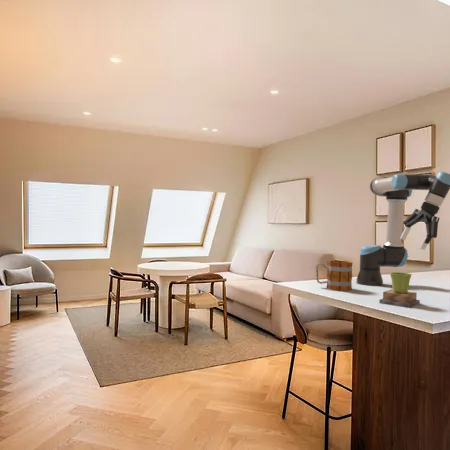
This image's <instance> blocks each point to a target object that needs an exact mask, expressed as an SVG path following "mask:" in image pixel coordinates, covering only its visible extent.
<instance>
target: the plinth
mask: <svg viewBox="0 0 450 450" xmlns="http://www.w3.org/2000/svg"><path fill="white" fill-rule="evenodd" d="M417 297H418V296H417V291H416V292H414V291H408V293H399V292H393V288H391V289H388V290H385V291H383V292H382V298H381V299H379V302H378V303H379V304H382V305H383V304H385V305H391V306H397V307H398V306H399V307H402V308H403V307H404V308H411V307H414V306H417V305H419V304H420V303H421V301H420V299H417Z"/></svg>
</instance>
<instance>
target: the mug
mask: <svg viewBox="0 0 450 450" xmlns="http://www.w3.org/2000/svg"><path fill="white" fill-rule="evenodd" d="M326 262H327V263H326V264H327V265H325V264H324V263H322V262H318V263H317V264H316V266H315V277H316V281H317V283H318V284H320V285H322V284H326V289H329V291H330V290H331V291H339V292H343V291H344V292H349V291H351V290H352V289H353V287H352V286H353V285H352V281H353V268H352V267H353V262H352V261H348V260H327V261H326ZM320 265H321V266H322V267H323V268H325V269H327V270H326V280H323V281H320V279H319V266H320Z"/></svg>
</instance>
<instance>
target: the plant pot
mask: <svg viewBox="0 0 450 450" xmlns="http://www.w3.org/2000/svg"><path fill="white" fill-rule="evenodd" d="M389 274H390V278H391V286H392V289H393V292H399V293H408V292H409V287H410V286H409V285H410V281H411V277H412V275H413V274H412V273H408V272H397V271H396V272H395V271H394V272H392V271H391V272H389Z"/></svg>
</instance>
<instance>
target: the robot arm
mask: <svg viewBox="0 0 450 450" xmlns="http://www.w3.org/2000/svg"><path fill="white" fill-rule="evenodd" d="M369 189H370V191H371V193H372V194H374V195H376V196H378V197H385V198H386V199H385V200H386V201H387V202H388V206H387V207H388V209H387V223H386V241H385V242H384V243H383V245H382V246H381V244H369V245H363V246H361V248H360V249H359V251H360V252H359V271H358V274H357V277H356V281H355V282H356V284H360V285H363V286H364V285H365V286H383V285H384V281H383V276H382V273H381V267H382V268H383V267H386V268H387V267H388V268H391V267H392V268H393V267H394V268H400V267H403V266H405V265H406V263H407V261H408V258H409V257H408V256H409V255H408V250H407V248H405V245H404V243H402V240H403V241H406V239H407V237H408V235H409V233H410V231H411V228H412V227H413V226H414V225H416V224H418V223H419V222H422V223H424V224H425V229H426V235H424V238H423V240H422V241H421V243H420V246H419V248H418V249H420V250H423V251H425V250H426V248H427V246H428V245H429V244H430V242H431V240H432V239H436V238H437V237H438V227H439V221H440V217H438V216H436V215H437V214H438V213H439V211H440V207H441V206H442V204H443V203H444V201H445V198H446V196H447V195H448V193H449V191H450V173H448V172H446V171H442V170H441V171H438V172H437V174H435V175H434V174H432V173H431V174H430V173H426V174H409V173H408V174H405V173H398V174H393V176H379V177H376V178H373V179H372V180H371V181H370V182H369ZM413 190H415V191H416V190H417V191H418V190H419V191H428V193H427V194H426V197H425V198H424V201H423V202H422V203H421V207H420V209H418V208H415V209H414V210H413V212H412V213H411V214H410V215H409V216H408V217H407V218H406V219H405V220H404V212H405V211H404V210H405V209H404V208H405V203H407V201H408V198H410V197H411V195H412V193H413ZM403 226H404V228H403Z"/></svg>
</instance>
